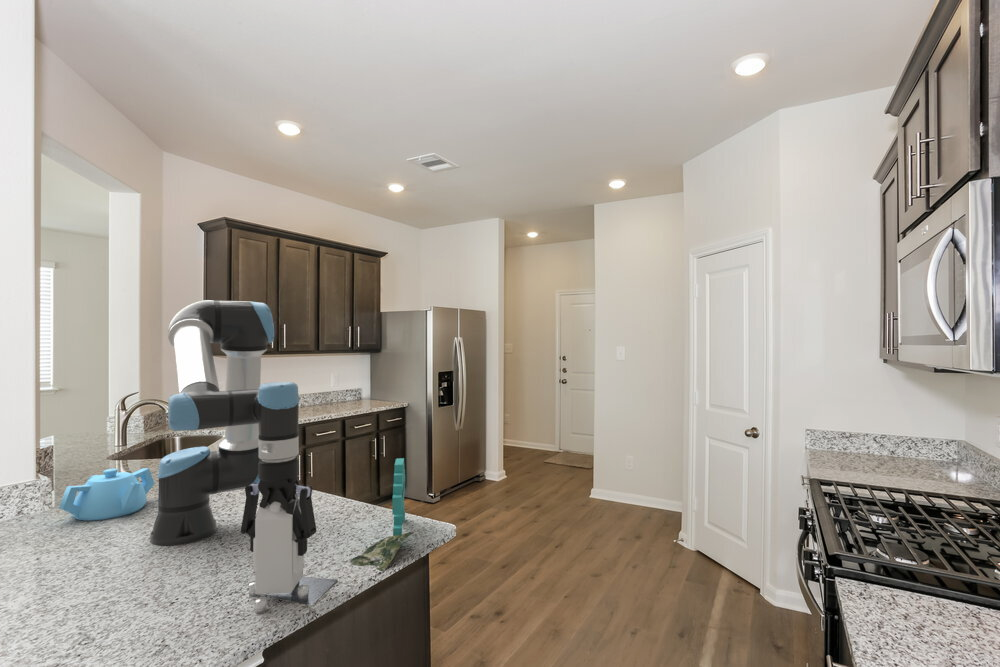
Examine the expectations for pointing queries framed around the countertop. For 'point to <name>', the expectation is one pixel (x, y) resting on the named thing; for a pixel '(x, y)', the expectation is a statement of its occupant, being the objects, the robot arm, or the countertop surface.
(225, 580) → the countertop surface
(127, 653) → the countertop surface
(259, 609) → the plate
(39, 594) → the countertop surface
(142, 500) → the teapot
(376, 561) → the topographical model
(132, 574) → the countertop surface
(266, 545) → the milk carton
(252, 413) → the robot arm
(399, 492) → the alien figure
